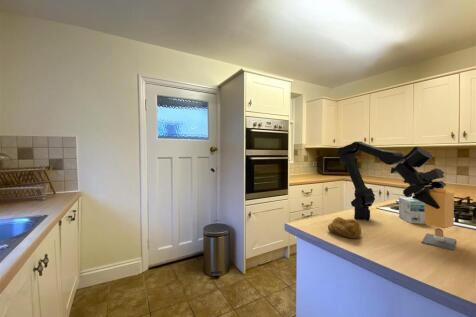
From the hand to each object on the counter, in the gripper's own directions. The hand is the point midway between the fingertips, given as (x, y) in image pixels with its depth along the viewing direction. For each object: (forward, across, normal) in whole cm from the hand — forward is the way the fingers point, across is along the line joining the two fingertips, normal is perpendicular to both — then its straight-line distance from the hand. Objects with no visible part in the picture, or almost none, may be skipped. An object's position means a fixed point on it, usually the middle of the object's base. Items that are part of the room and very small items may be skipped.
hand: (443, 207), depth 79 cm
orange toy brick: (+4, 0, +6) cm, 7 cm away
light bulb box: (-5, +19, +24) cm, 31 cm away
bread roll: (-5, -26, +25) cm, 36 cm away
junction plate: (+9, 0, +10) cm, 14 cm away
